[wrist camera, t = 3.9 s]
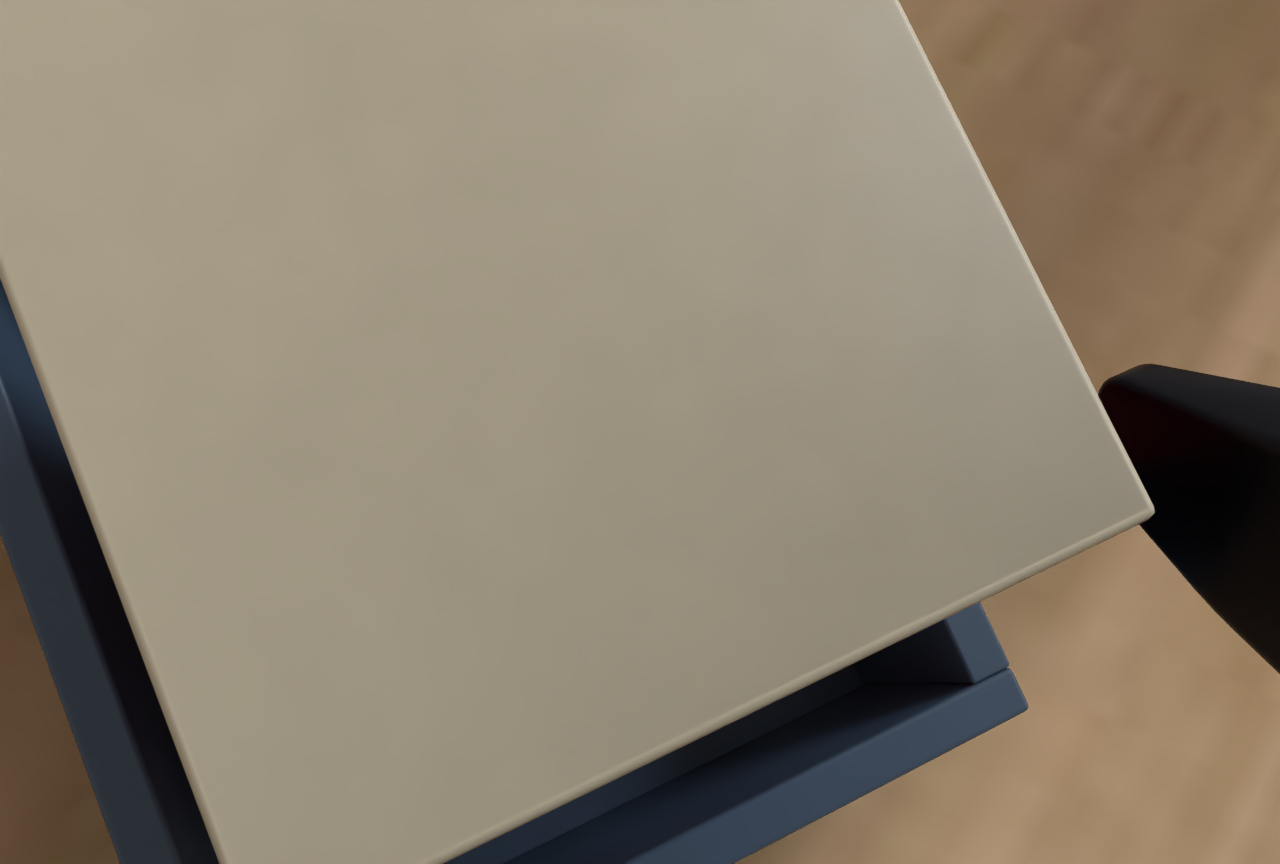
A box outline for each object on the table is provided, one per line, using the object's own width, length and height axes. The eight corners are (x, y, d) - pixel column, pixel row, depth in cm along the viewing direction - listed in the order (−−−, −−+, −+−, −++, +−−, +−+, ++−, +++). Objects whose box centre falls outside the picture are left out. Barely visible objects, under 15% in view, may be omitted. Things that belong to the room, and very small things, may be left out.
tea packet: (703, 621, 18) (1162, 512, 7) (375, 771, 17) (251, 958, 5) (544, 261, 19) (711, -380, 8) (219, 378, 18) (-177, -185, 6)
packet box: (894, 703, 19) (1032, 709, 15) (274, 1015, 17) (216, 1136, 12) (615, 99, 21) (665, -60, 16) (6, 298, 18) (-133, 173, 14)
